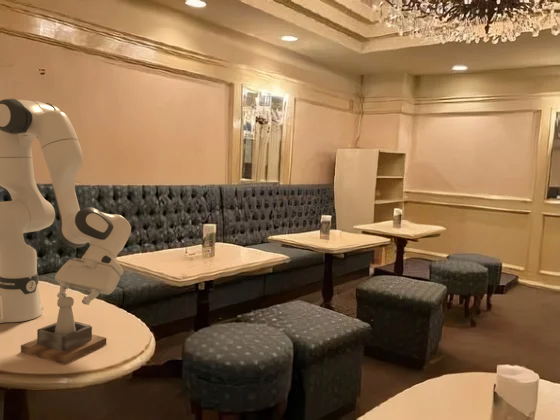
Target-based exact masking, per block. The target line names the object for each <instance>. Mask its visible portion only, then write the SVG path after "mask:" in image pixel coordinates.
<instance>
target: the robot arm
mask: <svg viewBox="0 0 560 420" xmlns="http://www.w3.org/2000/svg"><path fill="white" fill-rule="evenodd" d="M36 138H37V139H38V141H39V145H40V147H41V151H42V155H43V157H44V160H45V164H46V167H47V170H48V174H49V178H50V182H51V186H52V191H53V194H54V199H55V203H56V206H57V211H58V215H59V225H58V235H59V238H60V240H61V241H62V242H63V243H64V244H65V245H67V246H68V247H70V248H75V249H76V248H77V249H78V248H82V247H85V246H86V245H87V244H89V247H88V248H87V250H86V251H85V253H84V254H83V255H82V257H81V258H80V257H73V258H71V259H68V260H67V261H65V263H64V264H63V265H62V266H61V268H60V269H59V270H58V271H57V273H55V276H54V280H55V281H56V282H57V283H58V284H59V292H58V293H57V295H56V296H57V298H58V299H59V298H61V297H67V295H68V294H67V293H66V291H67V290H68V289H69V288H70V287H71V288H74V289H79V290H85V291H88V292H90V293H89V294H88V295H87V296H85V295H84V297H83V298H82V300H81V303H82V304H83V305H86V306H89V305H90V303H91V301H93V300H95V299H96V298H97V297H99V295H100V294H101V295H107V296H109V295H110V294H112V293H113V292H114V291H115V289H116V287H117V285H118V284H119V282H120V279H121V276H122V275H123V274H124V273H125V272H124V271H125V270H124V269H123V268H122V266H121V265H120V264H119V263H118V261H117V260H116V259H117V257H118V254H119V253H120V252H121V251H122V250H124V247H125V245H126V244H127V242H128V240H129V238H130V236H131V231H132V226H131V224H130V222H129V220H128V219H126V217H124V216H122V215H120V214H117V213H115V214H113V213H112V214H111V213H105V212H102V211H101V210H99V209H97V208H95V207H88V206H86V207H84V208H81V209H80V204H79V201H78V198H77V193H76V181H77V178H78V175H79V173H80V170H81V168H82V167H83V163H84V156H83V150H82V146H81V144H80V141H79V137H78V134H77V133H76V130H75V128H74V126H73V123H72V122H71V120H70V118H69V117H68V115H67V114H66V113H64V112H63V111H62V110H61V109H59V108H58V107H57V106H56V105H53V104H52V103H51V104H50V103H49V102H41V101H38V100H31V99H28V100H27V99H16V98H5V99H4V98H3V99H1V100H0V187H1V188H3V189H5V190H7V192H8V193H9V195H10V198H11V200H7V201H5V200H4V201H0V324H2V323H3V324H4V323H19V322H25V321H29V320H33V319H36V318H39V317H41V315H42V314H43V308H44V306H43V305H42V304H41V302H42V301H41V294H40V287H39V285H38V284H39V277H40V276H39V273H38V271H37V270H38V266H37V265H38V254H37V249H35V248H34V247H33V246H31V245H30V244H27V243H26V241H25V238H24V234H25V233H32V232H39V231H42V230H44V229H46V228H49V227H51V226H52V225H53V223H54V221H55V219H56V211H55V208H54V206H53V205H52V203H51V202H49V201H48V200H46V199H45V198H44V196H43V195H42V193H41V191H40V190H39V187H38V186H37V185H38V184H37V183H36V178H35V172H34V171H35V169H34V161H33V151H32V150H33V149H32V144H33V141H34V140H35V139H36Z"/></svg>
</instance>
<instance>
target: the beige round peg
mask: <svg viewBox="0 0 560 420" xmlns="http://www.w3.org/2000/svg"><path fill="white" fill-rule="evenodd" d="M74 300H75V299H74V298H73V296H66V297H61V298H58V299H57V303H56V304H57V306H58V308H59V309H58V313H57V314H58V315H57V320H56V323H57V324H56V328H55V333H56V334H60V335H64V336H65V335H68V334H70V333H72V332H75V331H76V328H75V323H74V321H75V318H74V314H73V313H74V312H73V308H72V307H73V305H74V303H75V301H74Z"/></svg>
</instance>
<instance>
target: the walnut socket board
mask: <svg viewBox="0 0 560 420" xmlns="http://www.w3.org/2000/svg"><path fill="white" fill-rule="evenodd" d="M74 323H75V328H76V331H75V332H72V333H70V334H68V335H65V336H64V335H60V334H56V333H55V328H56V324H57V322H53V323H51V324H49V325H46V326H43V327H41V328H38V329H37V330H36V331H37V333H36V339H33V340H31V341H28V342H25V343H23V344H21V345H20V353H23V354H27V355H29V356H32V357H33V356H34V357H35V358H36V357H37V358H40V359H44V360H47V361H51V362H55V363H58V364H62V365H66V364H69V363H70V362H73V361H74V360H77V359H79V358H81V357H83V356H85V355H87V354H89V353H91V352H93V351H95V350H97V349H99V348H101V347H102V348H103V346H105V345H107V337H105V336H100V335H96V334H93V326H91V325H90V324H87V323H83V322H79V321H75V320H74Z"/></svg>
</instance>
